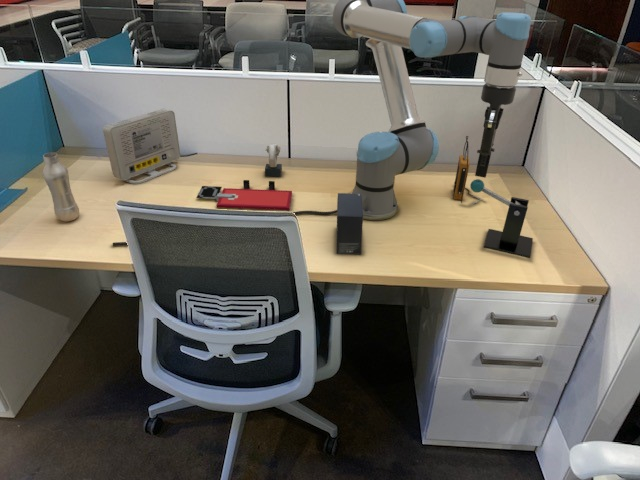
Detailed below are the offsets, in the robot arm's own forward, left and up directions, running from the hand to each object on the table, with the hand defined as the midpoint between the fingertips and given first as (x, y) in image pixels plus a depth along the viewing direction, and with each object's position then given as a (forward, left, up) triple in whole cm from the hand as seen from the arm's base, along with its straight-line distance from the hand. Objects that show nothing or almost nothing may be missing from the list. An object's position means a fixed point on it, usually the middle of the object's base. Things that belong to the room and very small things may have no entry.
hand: (480, 175), depth 126 cm
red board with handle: (-54, +44, -19) cm, 73 cm away
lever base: (+8, -8, -19) cm, 22 cm away
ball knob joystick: (+3, -3, -7) cm, 8 cm away
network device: (-81, +74, -19) cm, 112 cm away
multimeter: (+16, +21, -19) cm, 33 cm away
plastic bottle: (-106, +48, -19) cm, 118 cm away
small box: (-33, +9, -19) cm, 40 cm away
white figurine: (-40, +59, -19) cm, 74 cm away
